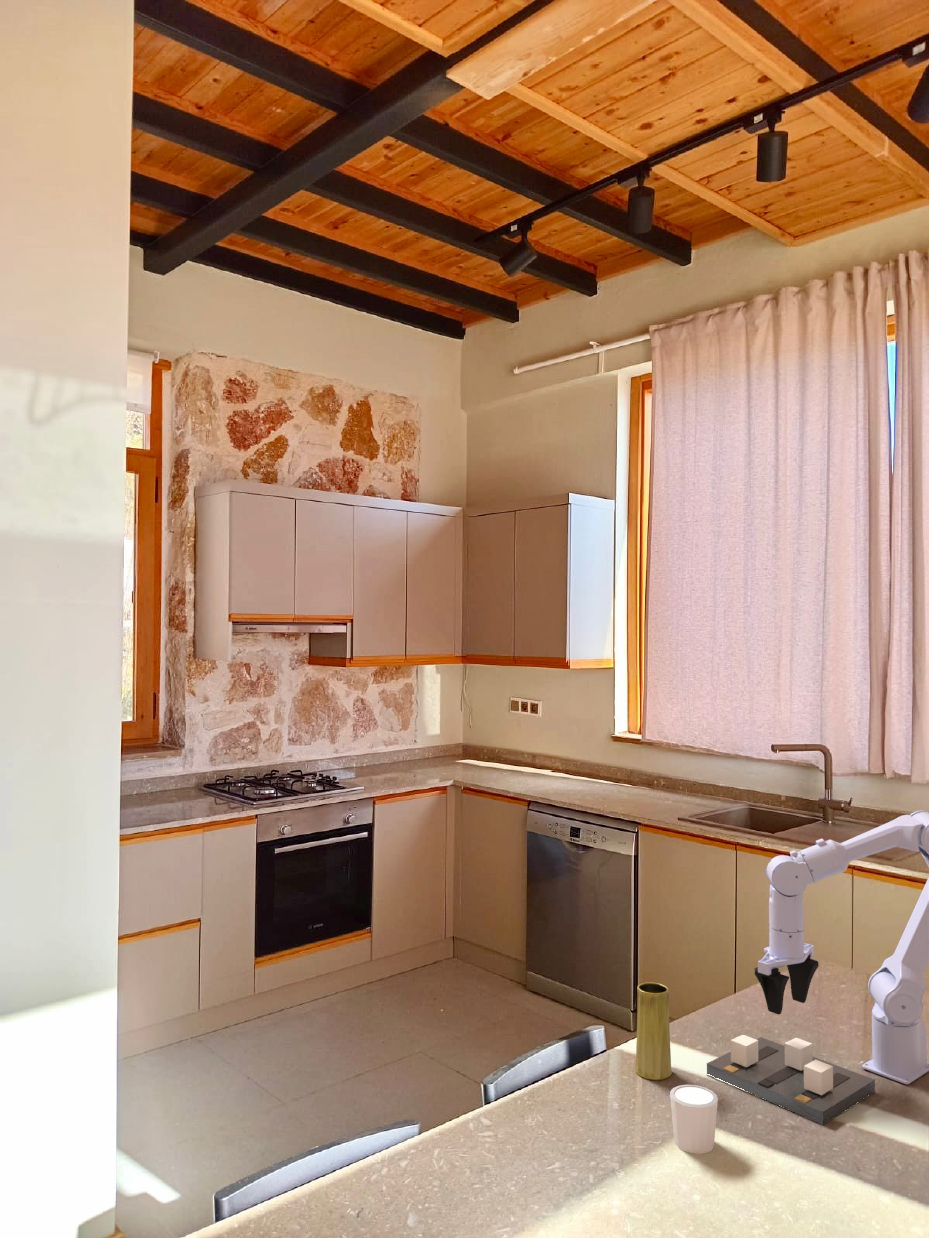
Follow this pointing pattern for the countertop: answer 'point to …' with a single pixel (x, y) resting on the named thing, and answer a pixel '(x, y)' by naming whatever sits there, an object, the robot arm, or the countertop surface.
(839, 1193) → the countertop surface
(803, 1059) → the switch
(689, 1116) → the white cup
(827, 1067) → the switch
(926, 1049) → the robot arm
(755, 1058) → the switch
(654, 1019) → the vase
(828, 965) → the countertop surface
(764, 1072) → the console
